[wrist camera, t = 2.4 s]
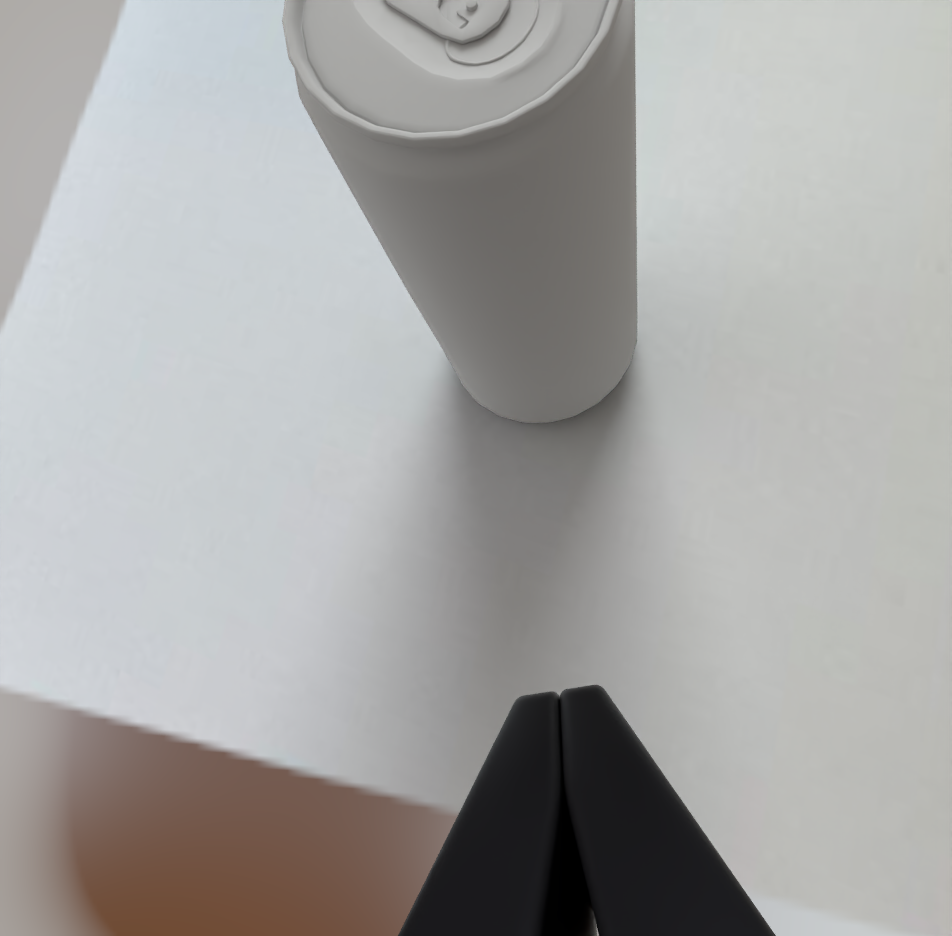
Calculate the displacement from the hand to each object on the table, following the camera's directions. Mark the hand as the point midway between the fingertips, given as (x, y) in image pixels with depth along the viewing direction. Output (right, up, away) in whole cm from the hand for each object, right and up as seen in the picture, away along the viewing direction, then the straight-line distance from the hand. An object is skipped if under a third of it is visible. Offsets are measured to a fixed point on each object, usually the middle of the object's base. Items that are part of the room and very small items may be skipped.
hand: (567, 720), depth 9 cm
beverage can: (+1, +6, +14) cm, 16 cm away
